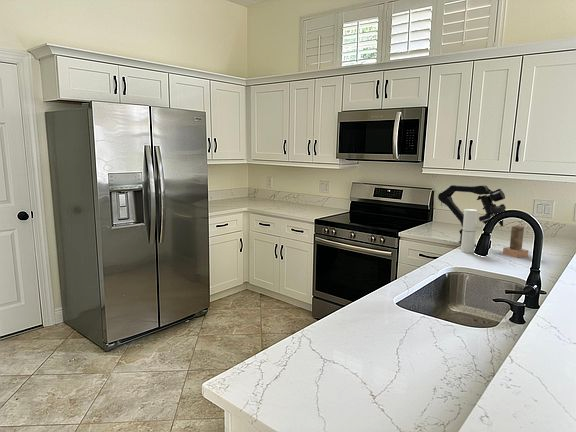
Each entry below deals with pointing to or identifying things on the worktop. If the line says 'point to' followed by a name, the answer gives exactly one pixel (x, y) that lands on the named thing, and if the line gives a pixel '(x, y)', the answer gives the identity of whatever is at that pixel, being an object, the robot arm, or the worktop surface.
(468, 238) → the cylindrical container
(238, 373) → the worktop surface
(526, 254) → the terracotta riser
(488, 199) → the robot arm
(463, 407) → the worktop surface
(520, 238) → the walnut block
